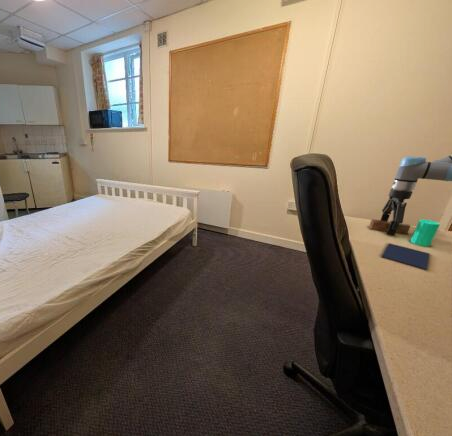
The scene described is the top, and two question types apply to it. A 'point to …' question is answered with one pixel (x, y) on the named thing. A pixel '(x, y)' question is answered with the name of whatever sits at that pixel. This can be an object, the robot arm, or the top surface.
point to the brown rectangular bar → (385, 226)
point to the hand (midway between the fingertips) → (385, 229)
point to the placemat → (406, 256)
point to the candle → (424, 232)
